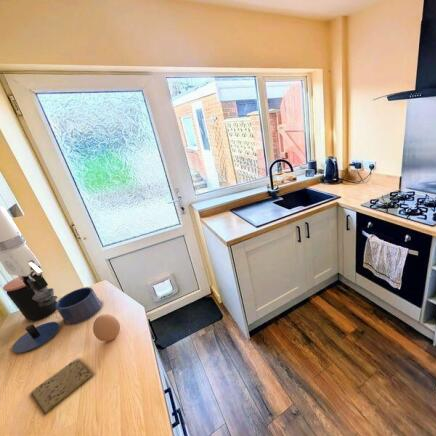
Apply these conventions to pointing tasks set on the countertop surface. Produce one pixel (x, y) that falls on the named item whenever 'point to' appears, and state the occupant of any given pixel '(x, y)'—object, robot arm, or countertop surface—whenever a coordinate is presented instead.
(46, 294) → the grey tall lumpy piece
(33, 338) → the tin lid
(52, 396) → the pitted brown brick
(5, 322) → the countertop surface
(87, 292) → the tin
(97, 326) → the egg
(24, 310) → the coffee jar
